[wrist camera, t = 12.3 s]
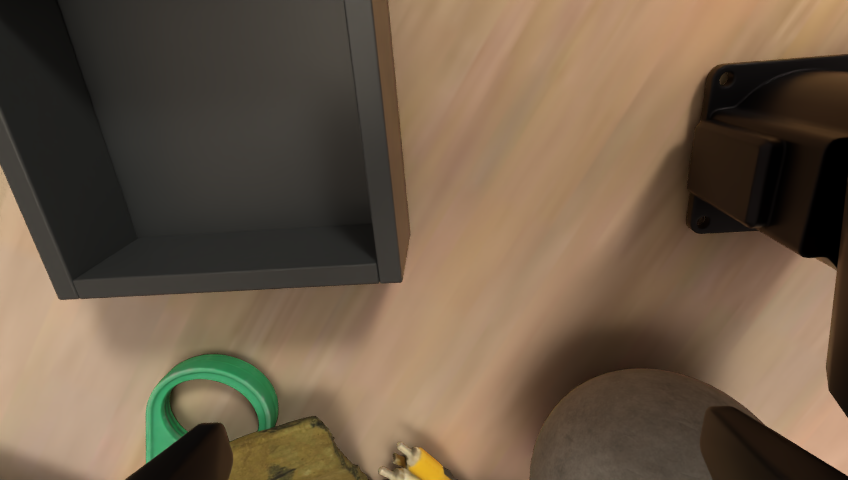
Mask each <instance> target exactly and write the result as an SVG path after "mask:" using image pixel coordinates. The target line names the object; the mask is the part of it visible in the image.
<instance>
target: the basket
mask: <svg viewBox="0 0 848 480" xmlns="http://www.w3.org/2000/svg"><path fill="white" fill-rule="evenodd" d="M0 165H1V167H2V169H3V172H4V174H5V176H6V179H7V181H8V183H9V185H10V188H11V190H12V192H13V195H14V197H15V199H16V202H17V204H18V206H19V208H20V211H21V213H22V215H23V218H24V220H25V222H26V225H27V227H28V229H29V231H30V234H31V236H32V238H33V241H34V243H35V245H36V248H37V250H38V252H39V254H40V257H41V259H42V261H43V264H44V266H45V268H46V271H47V273H48V275H49V277H50V280H51V282H52V284H53V287H54V289H55V291H56V294H57V296H58V298H59V299H60V300H68V299H79V298H80V299H89V298H108V297H127V296H147V295H166V294H185V293H204V292H224V291H243V290H262V289H281V288H301V287H320V286H339V285H358V284H377V283H379V282H380V283H401V282H402V280H403V275H404V269H405V263H406V257H407V251H408V245H409V239H410V225H409V214H408V204H407V194H406V183H405V173H404V163H403V152H402V142H401V131H400V121H399V111H398V100H397V90H396V80H395V69H394V59H393V48H392V38H391V28H390V17H389V7H388V0H0Z"/></svg>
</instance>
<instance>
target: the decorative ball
mask: <svg viewBox="0 0 848 480" xmlns="http://www.w3.org/2000/svg"><path fill="white" fill-rule="evenodd" d="M711 406H733V407H736V408H737V409H739V410H741V411H742V412H744V413H746V414H747V415H749V416H751V417H752V418H754V419H755V420H757V421H759V422H760V423H762V422H761V421H760V420H759V419H758V418H757V417H756V416H755V415H754V414H752V413H751V412H750V411H749V410H748V409H747V408H745V407H744V406H743V405H741V404H740V403H739V402H737V401H736V400H735V399H733V398H732V397H730V396H729V395H727V394H725V393H724V392H722V391H720V390H718V389H716V388H715V387H713V386H711V385H709V384H706V383H704V382H702V381H699V380H697V379H695V378H692V377H689V376H686V375H682V374H679V373H675V372H671V371H666V370H659V369H646V368H634V369H624V370H618V371H613V372H608V373H605V374H602V375H599V376H597V377H594V378H592V379H590V380H588V381H586V382H584V383H582V384H581V385H579V386H578V387H576V388H575V389H573V390H572V391H571V392H569V393H568V394H567V395H566V396H565V397H564V398H563V399H562V400H560V402H559V403H558V404H557V405H556V406H555V407H554V409H553V410H552V411H551V413H550V414H549V416H548V417H547V419H546V420H545V422H544V424H543V426H542V428H541V430H540V432H539V435H538V437H537V440H536V443H535V446H534V449H533V455H532V459H531V466H530V480H712V477H711V475H710V473H709V470H708V468H707V465H706V463H705V461H704V458H703V456H702V453H701V450H700V435H701V430H702V425H703V420H704V415H705V411H706V409H707V408H708V407H711ZM762 424H763V423H762Z"/></svg>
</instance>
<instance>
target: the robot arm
mask: <svg viewBox="0 0 848 480" xmlns="http://www.w3.org/2000/svg"><path fill="white" fill-rule="evenodd" d="M725 72H726V73H727V74H728V79H727V82H726V83H725V84H724V85H721V84H720V81H719V80H720V77H721V75H722V74H724V73H725ZM687 189H688V190H689V191H690V196H689V203H688V210H687V217H686V224H687V226H688V227H689V228H690V229H691V230H693V231H694V232H696V233H699V234H707V233H725V232H743V231H760V232H762V233H763V234H765V235H767V236H769V237H770V238H772V239H774V240H775V241H777V242H779V243H780V244H782V245H784V246H785V247H787V248H789V249H790V250H792V251H794V252H795V253H797V254H799V255H800V256H802V257H806V258H816V259H818V260H820V261H822V262H823V263H825V264H827V265H828V266H830V267H832V268H834V269H835V270H837V274H836V283H835V292H834V300H833V309H832V318H831V327H830V336H829V344H828V353H827V362H826V371H827V380H828V388H829V391H830V393H831V394H832V396H833V397H834V399H835V400H836V401H837V403H838V404H839V406H840V407H841V409H842V410H843V412H844V413H845V414H846V416H847V417H848V54H842V55H830V56H817V57H804V58H792V59H779V60H766V61H753V62H741V63H728V64H721V65H717V66H716V67H714V68H713V69H712V70H711V71H710V73H709V74H708V77H707V81H706V88H705V94H704V101H703V108H702V115H701V121H700V123H699V124H698V125H697V126H696V127H695V132H694V139H693V146H692V153H691V160H690V167H689V174H688V181H687ZM704 216H705V220H704V222H703V223H701V224H699V225H697V221H698V220H699V219H700V218H701V217H704ZM700 450H701V453H702V456H703V458H704V461H705V463H706V465H707V468H708V470H709V473H710V475H711V477H712V480H848V476H847V475H845V474H843V473H842V472H840V471H838V470H837V469H835V468H834V467H832V466H830V465H829V464H827V463H825V462H824V461H822V460H821V459H819V458H817V457H816V456H814V455H812V454H811V453H809V452H808V451H806V450H804V449H803V448H801V447H799V446H798V445H796V444H795V443H793V442H791V441H790V440H788V439H786V438H785V437H783V436H782V435H780V434H778V433H777V432H775V431H773V430H772V429H770V428H768V427H767V426H765V425H764V424H762V423H760V422H759V421H757V420H755V419H754V418H752V417H751V416H749V415H747V414H746V413H744V412H742V411H741V410H739V409H737V408H736V407H733V406H711V407H708V408H707V409H706V411H705V415H704V420H703V425H702V430H701V435H700ZM232 466H233V452H232V449H231V446H230V443H229V440H228V436H227V433H226V430H225V427H224V426H223V425H222V424H221V423H218V422H217V423H201V424H198V425H197V426H195V427H194V428H193V429H191V430H190V431H189V432H187V433H186V434H185V435H184V436H182V437H181V438H180V439H178V440H177V441H176V442H174V443H173V444H172V445H170V446H169V447H168V448H166V449H165V450H164V451H162V452H161V453H160V454H158V455H157V456H156V457H154V458H153V459H152V460H151V461H149V462H148V463H147V464H145V465H144V466H143V467H141V468H140V469H139V470H137V471H136V472H135V473H133V474H132V475H131V476H129V477H128V478H127V479H125V480H229V476H230V473H231V470H232Z"/></svg>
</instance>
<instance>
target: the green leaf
mask: <svg viewBox="0 0 848 480" xmlns="http://www.w3.org/2000/svg"><path fill="white" fill-rule="evenodd" d="M333 440H334V437H332V434H331V433H330V432H329V429H328V428H327V427H326V426H325V425H324V424H323V422H322V421H320V420H319V419H318V418H317V417H316V416H310V417H307V418H303V419H299V420H295V421H292V422H289V423H286V424H282V425H279V426H276V427H273V428H269V429H265V430H261V431H257V432H254V433H251V434H248V435H246V436H243V437H240V438H238V439H236V440H233V441H231V442H229V443H230V446H231V449H232V452H233V466H232V470H231V473H230V476H229V480H368V479H367V476H366V474H364V473H363V472H361V471H360V468H359V466H358V465H355V464H352V463H351V462H350V461H349V460H348V459H347V458H346V457H345V456H344V454H343V453H342V452H341V451H340V450H339V448H338V447H337V446H336V444H335V443H334V441H333Z"/></svg>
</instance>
